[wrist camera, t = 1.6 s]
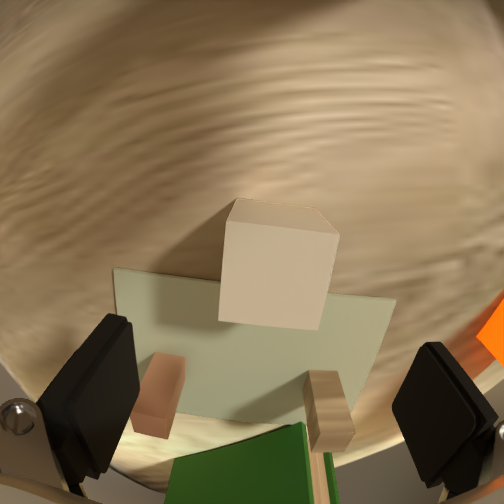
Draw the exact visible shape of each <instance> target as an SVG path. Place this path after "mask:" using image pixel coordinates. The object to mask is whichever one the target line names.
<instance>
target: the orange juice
mask: <svg viewBox="0 0 504 504" xmlns="http://www.w3.org/2000/svg"><path fill="white" fill-rule="evenodd" d="M476 337H477V338H478V339H479V340H480V341H481V342H482V343H483V344H484V345H485V347H486V348H487V349H488V350H489V351H490V352H491V353H492V354H493V355H494V357H495V358H496V359H497V360H498V361H499V362H500V363H501V365H502V366H503V367H504V299H503V300H502V302H501V303H500V305H499V306H498V308H497V309H496V311H495V312H494V313H493V315H492V316H491V318H490V319H489V320H488V322H487V323H486V324H485V326H484V327H483V328H482V330H481V331H480V332H479V334H478V335H477V336H476Z"/></svg>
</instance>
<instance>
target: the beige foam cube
mask: <svg viewBox="0 0 504 504" xmlns="http://www.w3.org/2000/svg"><path fill="white" fill-rule="evenodd" d="M339 237H340V234H339V233H338V232H337V231H336V230H335V229H334V228H333V227H332V226H331V224H330V223H329V222H328V221H327V220H326V219H325V218H324V217H323V216H322V215H321V214H320V213H319V212H318V211H317V210H316V208H313V207H306V206H298V205H291V204H283V203H275V202H267V201H259V200H250V199H241V198H237V199H236V201H235V203H234V205H233V208H232V210H231V212H230V214H229V216H228V218H227V220H226V229H225V240H224V252H223V263H222V275H221V288H220V301H219V315H218V321H225V322H233V323H242V324H251V325H260V326H270V327H281V328H293V329H305V330H318V328H319V324H320V321H321V317H322V313H323V309H324V305H325V301H326V296H327V292H328V288H329V284H330V279H331V275H332V270H333V266H334V261H335V256H336V252H337V247H338V242H339Z"/></svg>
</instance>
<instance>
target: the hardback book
mask: <svg viewBox="0 0 504 504" xmlns="http://www.w3.org/2000/svg"><path fill="white" fill-rule="evenodd" d="M164 504H340V501H339V495H338V490H337V482H336V476H335V471H334V464H333V459H332V453H331V452H320V453H311V449H310V442H309V440H308V439H307V433H306V425H305V424H304V423H303V422H302V421H300V422H298V423H295V424H293V425H290V426H288V427H285V428H282V429H279V430H277V431H274V432H271V433H268V434H265V435H262V436H259V437H256V438H253V439H250V440H247V441H244V442H240V443H237V444H233V445H230V446H226V447H223V448H219V449H215V450H211V451H207V452H203V453H199V454H195V455H190V456H186V457H181V458H176V459H174V463H173V467H172V471H171V476H170V480H169V484H168V489H167V493H166V498H165V502H164Z"/></svg>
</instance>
